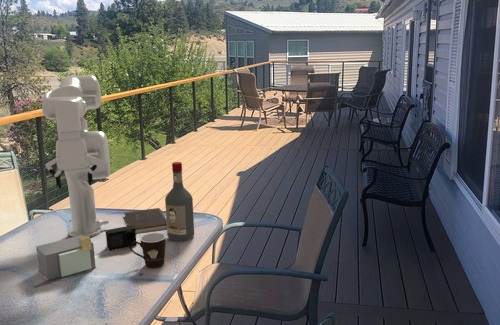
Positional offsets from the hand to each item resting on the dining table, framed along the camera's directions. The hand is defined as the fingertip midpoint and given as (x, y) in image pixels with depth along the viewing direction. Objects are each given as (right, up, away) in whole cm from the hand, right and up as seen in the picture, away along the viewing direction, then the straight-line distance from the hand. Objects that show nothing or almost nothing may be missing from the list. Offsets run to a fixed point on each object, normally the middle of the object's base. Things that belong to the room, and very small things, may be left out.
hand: (75, 185), depth 180 cm
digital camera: (+11, -24, +20) cm, 33 cm away
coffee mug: (+25, -28, +4) cm, 37 cm away
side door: (+2, -29, -4) cm, 29 cm away
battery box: (-4, -29, -1) cm, 30 cm away
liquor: (+32, -22, +28) cm, 48 cm away
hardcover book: (+15, -18, +46) cm, 52 cm away
